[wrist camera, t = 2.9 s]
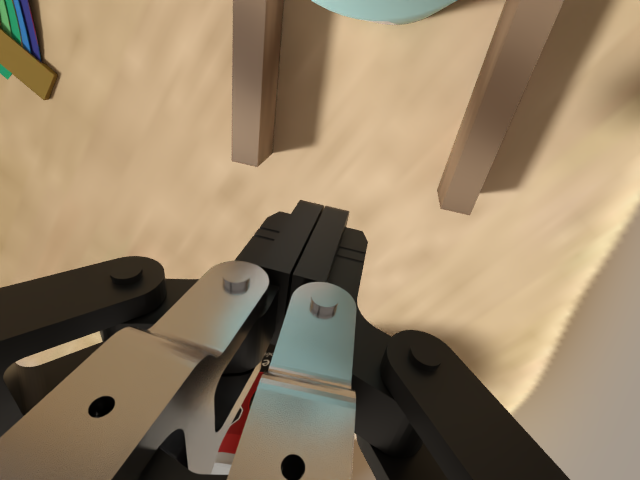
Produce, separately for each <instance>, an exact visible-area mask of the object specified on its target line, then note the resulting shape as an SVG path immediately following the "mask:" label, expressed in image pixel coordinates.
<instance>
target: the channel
mask: <svg viewBox="0 0 640 480" xmlns="http://www.w3.org/2000/svg"><path fill="white" fill-rule="evenodd" d="M563 2H564V0H506V2H505V5H504V8H503V10H502V13H501V16H500V19H499V21H498V24H497V27H496V30H495V32H494V35H493V38H492V41H491V43H490V46H489V49H488V52H487V54H486V57H485V60H484V63H483V65H482V68H481V71H480V74H479V76H478V79H477V82H476V85H475V87H474V90H473V93H472V96H471V98H470V101H469V104H468V107H467V109H466V112H465V115H464V118H463V120H462V123H461V126H460V129H459V131H458V134H457V137H456V140H455V142H454V145H453V148H452V151H451V153H450V156H449V159H448V162H447V164H446V167H445V170H444V173H443V175H442V178H441V181H440V184H439V186H438V189H437V192H438V197H439V202H440V208H441V209H444V210H449V211H453V212H458V213H462V214H466V215H470V214H471V212H472V209H473V207H474V205H475V202H476V200H477V198H478V196H479V193H480V191H481V189H482V187H483V184H484V182H485V180H486V177H487V175H488V173H489V171H490V168H491V166H492V164H493V161H494V159H495V157H496V155H497V152H498V150H499V148H500V146H501V143H502V141H503V139H504V136H505V134H506V132H507V130H508V127H509V125H510V123H511V120H512V118H513V116H514V114H515V111H516V109H517V107H518V104H519V102H520V100H521V98H522V95H523V93H524V91H525V89H526V86H527V84H528V82H529V79H530V77H531V75H532V73H533V70H534V68H535V66H536V63H537V61H538V59H539V57H540V54H541V52H542V50H543V48H544V45H545V43H546V41H547V38H548V36H549V34H550V32H551V29H552V27H553V25H554V22H555V20H556V18H557V16H558V13H559V11H560V9H561V6H562V4H563ZM283 5H284V0H233V68H232V161H233V162H238V163H242V164H246V165H251V166H255V167H258V166H259V165H260V164H261V163H262V162H263V161H264V160H266V159H267V158H268V157H269V156H270V155H271V154H272V151H273V138H274V124H275V111H276V98H277V84H278V71H279V58H280V45H281V31H282V18H283Z"/></svg>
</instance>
